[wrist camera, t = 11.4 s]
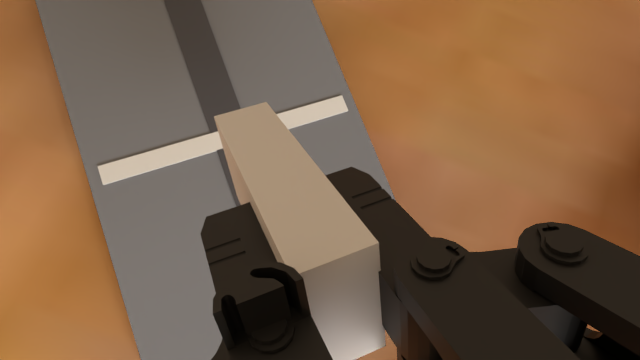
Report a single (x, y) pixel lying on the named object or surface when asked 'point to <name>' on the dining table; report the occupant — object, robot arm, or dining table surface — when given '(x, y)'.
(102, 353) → the dining table surface
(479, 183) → the dining table surface
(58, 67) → the slider board
